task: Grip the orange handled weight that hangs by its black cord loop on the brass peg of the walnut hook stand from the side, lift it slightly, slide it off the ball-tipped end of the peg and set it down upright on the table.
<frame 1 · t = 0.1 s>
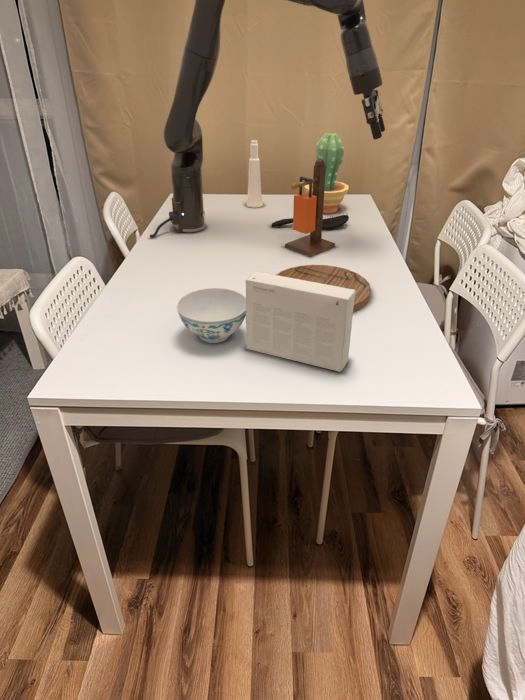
hand: (379, 135, 143), 31 cm above the table, tool tilted 20°, fingers open, 8 cm apart
skincare box: (296, 354, 111), on the table
trivet: (319, 292, 135), on the table
orange handled weight: (303, 230, 155), point 6 cm above the table, touching hook stand
cosmetic bottle: (254, 205, 193), on the table
chinaware: (214, 335, 118), on the table
potted cactus: (325, 209, 189), on the table
hairbrush: (309, 226, 175), on the table
hook stand: (315, 244, 161), on the table
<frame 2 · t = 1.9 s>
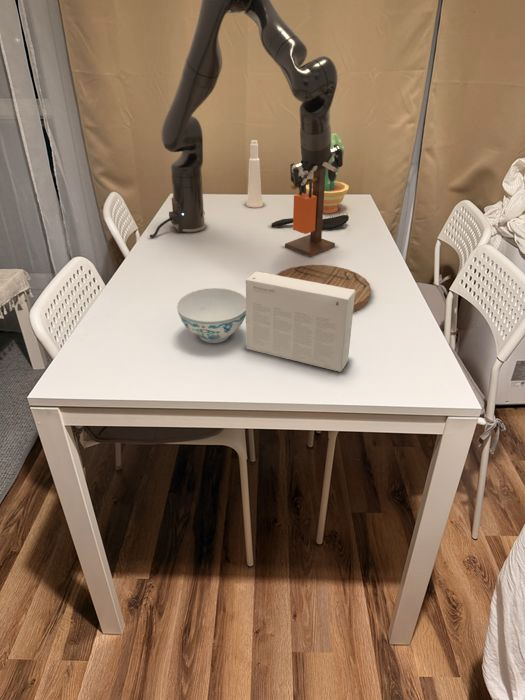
hand: (317, 185, 146), 19 cm above the table, tool tilted 30°, fingers open, 8 cm apart
nothing on the table moved.
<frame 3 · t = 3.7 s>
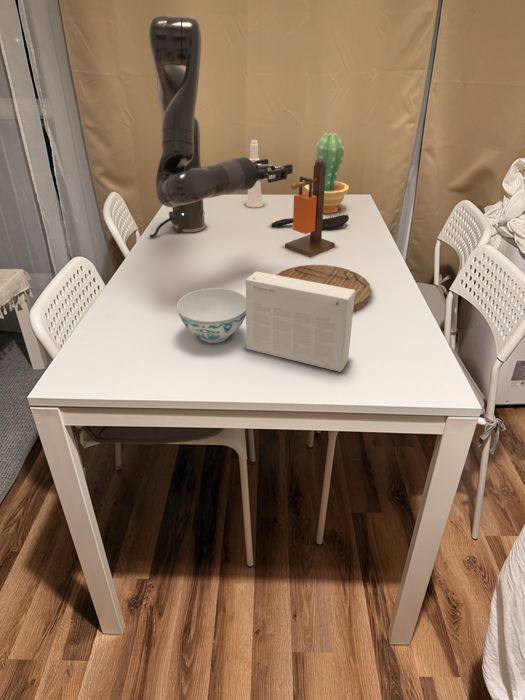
hand: (279, 165, 138), 26 cm above the table, tool horizontal, fingers open, 8 cm apart
nothing on the table moved.
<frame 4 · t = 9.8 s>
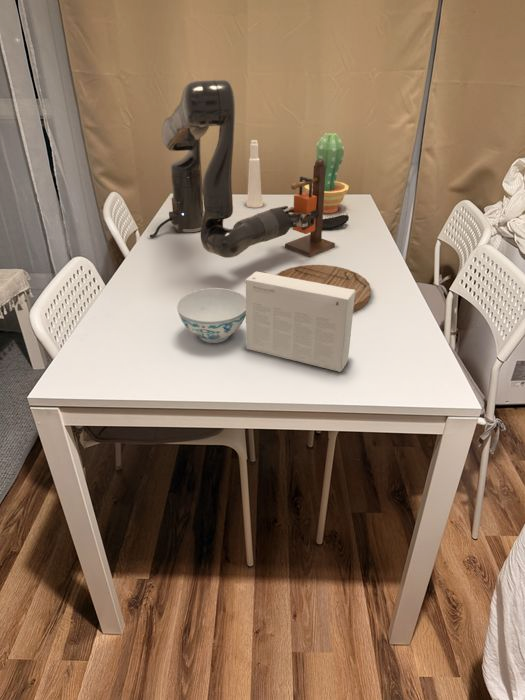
hand: (310, 211, 154), 11 cm above the table, tool horizontal, fingers closed on orange handled weight, 5 cm apart
orange handled weight: (303, 230, 155), point 6 cm above the table, touching gripper, hook stand
everything else where it was.
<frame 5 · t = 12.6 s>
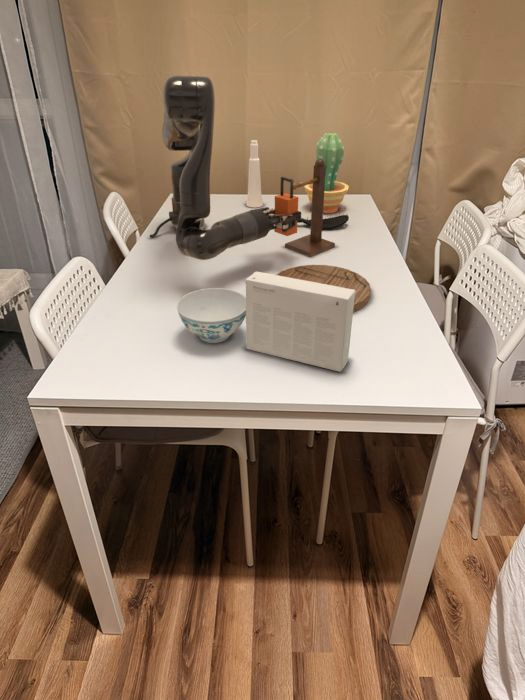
hand: (292, 212, 149), 12 cm above the table, tool horizontal, fingers closed on orange handled weight, 5 cm apart
orange handled weight: (285, 232, 150), point 7 cm above the table, touching gripper
everything else where it was.
when the fingers open (5 cm above the table, at t = 15.7 s): orange handled weight stays where it is, on the table.
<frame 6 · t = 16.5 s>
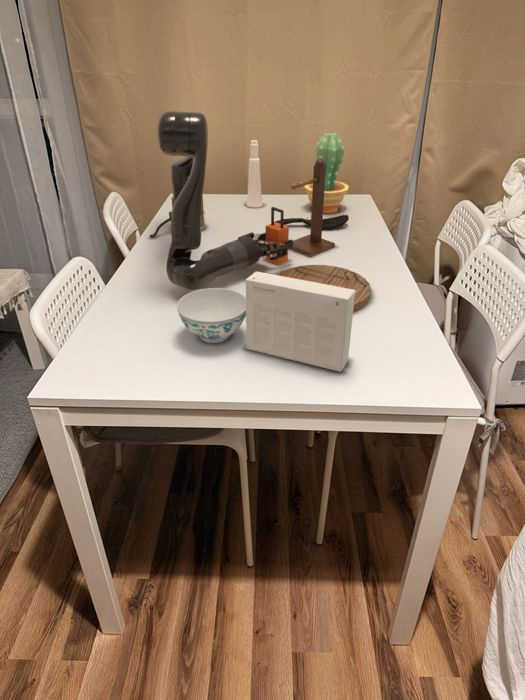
hand: (281, 238, 150), 6 cm above the table, tool horizontal, fingers open, 8 cm apart
orange handled weight: (276, 260, 152), on the table
everything else where it was.
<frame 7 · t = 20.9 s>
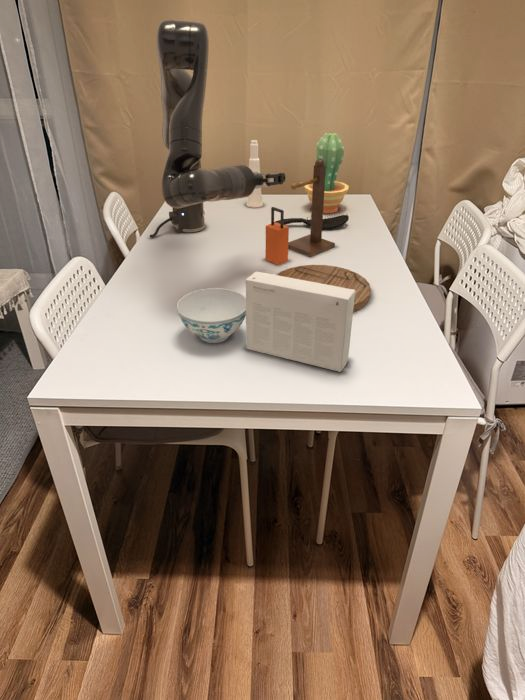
hand: (269, 177, 140), 23 cm above the table, tool horizontal, fingers open, 8 cm apart
nothing on the table moved.
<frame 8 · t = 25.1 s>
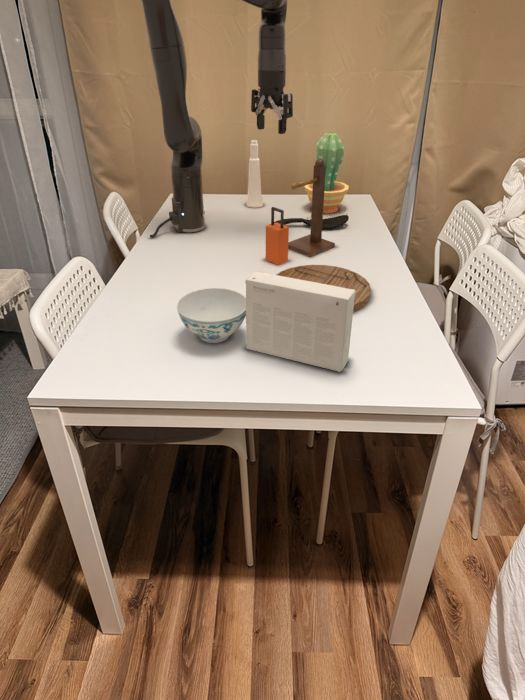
hand: (271, 131, 154), 30 cm above the table, tool pointing down, fingers open, 8 cm apart
nothing on the table moved.
at the end: orange handled weight inside the target area (0.3 cm from its centre), on the table; orange handled weight tilted 0°; the gripper is holding nothing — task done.
